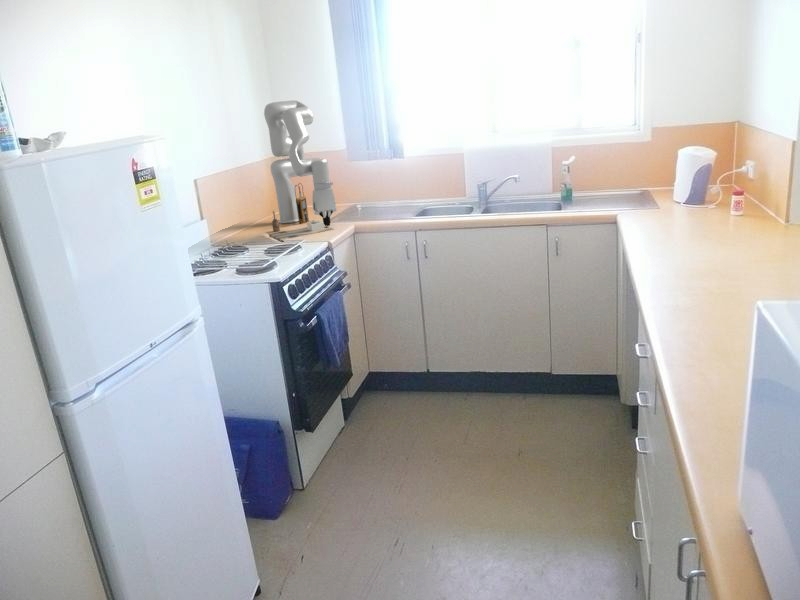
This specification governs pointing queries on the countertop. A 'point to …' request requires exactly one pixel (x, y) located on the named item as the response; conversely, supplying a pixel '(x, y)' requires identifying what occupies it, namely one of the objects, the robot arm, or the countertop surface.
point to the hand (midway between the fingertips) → (327, 225)
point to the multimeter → (302, 208)
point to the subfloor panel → (296, 233)
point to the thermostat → (315, 225)
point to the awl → (275, 224)
